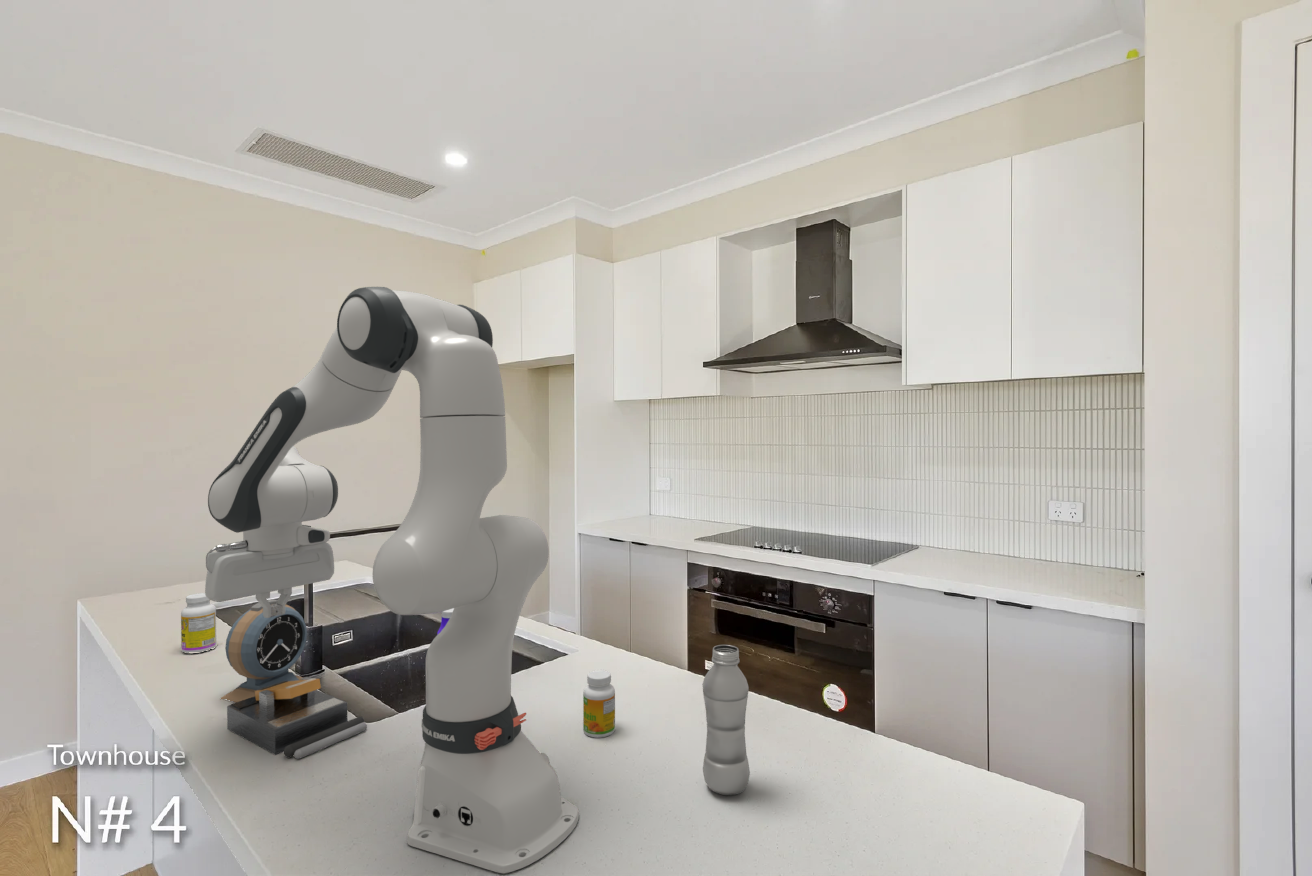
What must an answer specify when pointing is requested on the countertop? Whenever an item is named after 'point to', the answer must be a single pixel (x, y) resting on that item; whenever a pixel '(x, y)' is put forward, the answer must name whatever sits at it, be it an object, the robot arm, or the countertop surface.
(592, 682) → the supplement bottle
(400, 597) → the robot arm
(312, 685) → the orange striped box
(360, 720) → the grey rounded bar
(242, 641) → the alarm clock
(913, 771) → the countertop surface
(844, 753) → the countertop surface
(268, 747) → the dark grey block
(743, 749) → the plastic bottle
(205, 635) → the supplement bottle
